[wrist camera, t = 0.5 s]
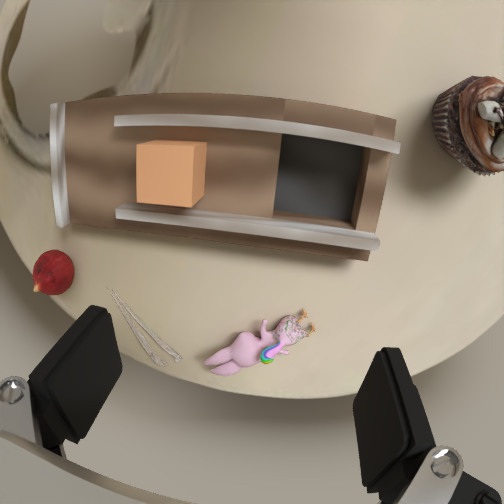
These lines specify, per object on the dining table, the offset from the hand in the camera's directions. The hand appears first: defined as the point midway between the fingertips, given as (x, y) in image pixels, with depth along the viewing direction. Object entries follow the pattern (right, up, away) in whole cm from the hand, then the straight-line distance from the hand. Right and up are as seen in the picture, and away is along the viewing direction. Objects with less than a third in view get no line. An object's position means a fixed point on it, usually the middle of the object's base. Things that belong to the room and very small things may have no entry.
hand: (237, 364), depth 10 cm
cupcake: (+23, +17, +15) cm, 32 cm away
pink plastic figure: (+1, -7, +29) cm, 30 cm away
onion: (-25, +3, +27) cm, 37 cm away
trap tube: (-4, +13, +20) cm, 24 cm away
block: (-6, +12, +17) cm, 22 cm away
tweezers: (-16, -5, +31) cm, 35 cm away
